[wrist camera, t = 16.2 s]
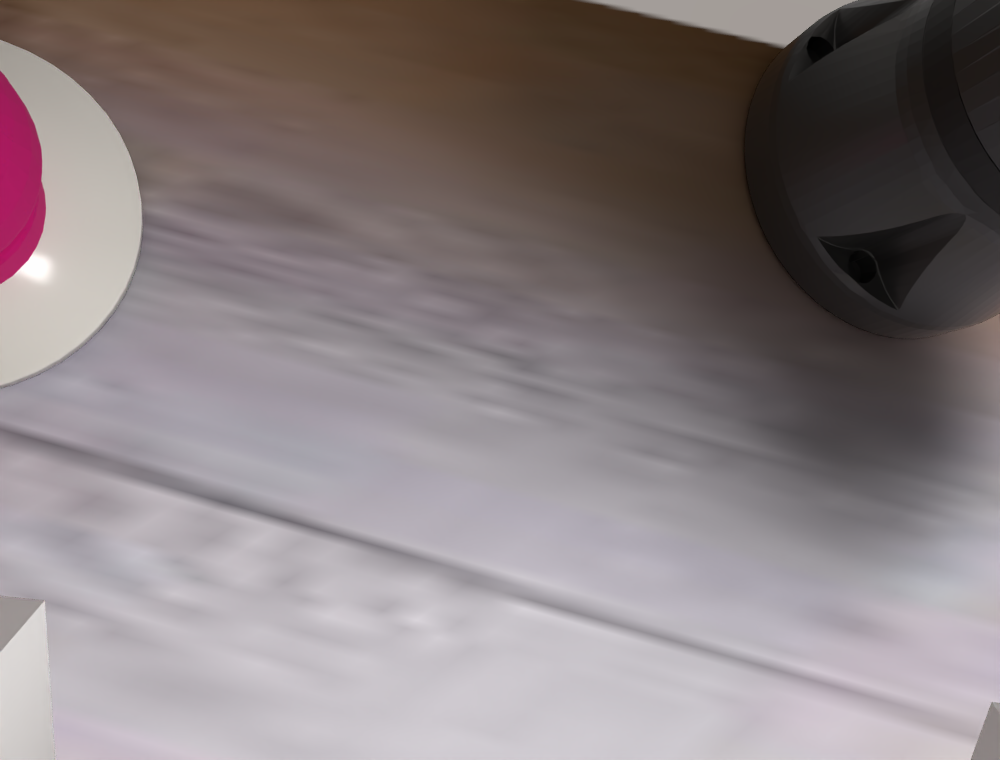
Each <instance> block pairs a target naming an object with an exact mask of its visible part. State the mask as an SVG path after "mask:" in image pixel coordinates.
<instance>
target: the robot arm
mask: <svg viewBox="0 0 1000 760" xmlns="http://www.w3.org/2000/svg"><path fill="white" fill-rule="evenodd" d="M745 164H746V173H747V180H748V185H749V190H750V195H751V198H752V202H753V205H754V208H755V211H756V214H757V217H758V220H759V222H760V224H761V227H762V229H763V231H764V233H765V235H766V237H767V239H768V241H769V243H770V245H771V247H772V249H773V250H774V252H775V254H776V255H777V257H778V258H779V260H780V261H781V263H782V264H783V266H784V267H785V268H786V270H787V271H788V272H789V274H790V275H791V276H792V277H793V279H794V280H795V281H796V282H797V283H798V284H799V285H800V286H801V288H802V289H803V290H804V291H805V292H806V293H807V294H808V295H810V296H811V297H812V298H813V299H814V300H815V301H816V302H817V303H819V304H820V305H821V306H823V307H824V308H825V309H826V310H828V311H829V312H831V313H832V314H834V315H835V316H837V317H838V318H840V319H842V320H844V321H845V322H847V323H849V324H851V325H853V326H856V327H858V328H860V329H863V330H865V331H868V332H871V333H875V334H878V335H882V336H887V337H893V338H905V339H914V338H925V337H931V336H935V335H939V334H943V333H947V332H951V331H954V330H958V329H962V328H966V327H970V326H973V325H976V324H979V323H981V322H983V321H986V320H988V319H990V318H992V317H994V316H996V315H998V314H1000V0H858V1H855V2H852V3H849V4H847V5H844V6H842V7H840V8H838V9H836V10H834V11H832V12H831V13H829V14H827V15H825V16H824V17H822V18H821V19H819V20H818V21H817V22H816V23H814V24H813V25H812V26H811V27H809V28H808V29H807V30H806V31H804V32H803V33H802V34H801V35H800V36H798V37H797V38H796V39H795V40H793V41H792V42H791V43H790V44H789V45H787V46H786V47H785V48H784V49H783V50H782V51H781V52H780V53H779V54H778V55H777V56H776V58H775V59H774V60H773V61H772V62H771V64H770V65H769V67H768V68H767V69H766V71H765V73H764V75H763V76H762V78H761V80H760V82H759V84H758V86H757V88H756V91H755V94H754V96H753V99H752V102H751V106H750V109H749V114H748V119H747V125H746V133H745ZM0 760H56V759H55V745H54V730H53V715H52V701H51V686H50V671H49V657H48V642H47V628H46V613H45V601H44V600H35V599H25V598H16V597H7V596H0ZM971 760H1000V703H995V702H992V703H991V705H990V708H989V711H988V714H987V716H986V719H985V722H984V725H983V727H982V730H981V733H980V736H979V738H978V741H977V744H976V747H975V750H974V752H973V755H972V758H971Z"/></svg>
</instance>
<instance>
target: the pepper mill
mask: <svg viewBox="0 0 1000 760" xmlns="http://www.w3.org/2000/svg"><path fill="white" fill-rule="evenodd" d="M41 179H42V150H41V145H40V141H39V138H38V134H37V131H36V127H35V124H34V122H33V120H32V118H31V116H30V114H29V112H28V110H27V108H26V106H25V104H24V103H23V101H22V100H21V98H20V97H19V95H18V94H17V92H16V91H15V89H14V88H13V87H12V85H11V84H10V82H9V81H8V79H7V78H6V77H5V75H4V74H3V73H2V72H1V71H0V284H2V283H3V282H5V281H6V280H7V279H9V278H10V277H12V276H13V275H14V274H15V273H16V272H17V271H18V270H19V269H20V268H21V267H22V266H23V265H24V264H25V263H26V262H27V261H28V260H29V258H30V257H31V255H32V254H33V252H34V250H35V249H36V247H37V245H38V243H39V240H40V238H41V235H42V233H43V229H44V222H45V216H46V200H45V192H44V188H43V184H42V181H41Z"/></svg>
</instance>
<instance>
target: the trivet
mask: <svg viewBox="0 0 1000 760" xmlns="http://www.w3.org/2000/svg"><path fill="white" fill-rule="evenodd" d="M0 71H1V72H2V73H3V74H4V75H5V77H6V78H7V79H8V81H9V82H10V84H11V85H12V87H13V88H14V89H15V91H16V92H17V94H18V95H19V97H20V98H21V100H22V101H23V103H24V104H25V106H26V108H27V110H28V112H29V114H30V116H31V118H32V120H33V122H34V124H35V127H36V131H37V134H38V138H39V141H40V145H41V150H42V179H41V181H42V184H43V188H44V192H45V200H46V216H45V222H44V229H43V233H42V235H41V238H40V240H39V243H38V245H37V247H36V249H35V250H34V252H33V254H32V255H31V257H30V258H29V260H28V261H27V262H26V263H25V264H24V265H23V266H22V267H21V268H20V269H19V270H18V271H17V272H16V273H15V274H14V275H13V276H12V277H10V278H9V279H7V280H6V281H5V282H3V283H2V284H0V388H4V387H7V386H11V385H15V384H17V383H20V382H22V381H25V380H27V379H29V378H32V377H34V376H37V375H39V374H41V373H43V372H45V371H47V370H48V369H50V368H52V367H54V366H56V365H57V364H59V363H61V362H63V361H64V360H65V359H67V358H68V357H69V356H71V355H72V354H74V353H75V352H76V351H78V350H79V349H80V348H82V347H83V346H84V345H85V344H86V343H87V342H88V341H89V340H90V339H91V338H92V337H93V336H95V335H96V334H97V333H98V332H99V331H100V330H101V328H102V327H103V326H104V325H105V323H106V322H107V321H108V320H109V318H110V317H111V316H112V315H113V314H114V312H115V311H116V309H117V307H118V306H119V304H120V302H121V301H122V299H123V297H124V296H125V294H126V292H127V290H128V287H129V285H130V283H131V280H132V278H133V276H134V273H135V270H136V266H137V263H138V259H139V255H140V251H141V243H142V235H143V210H142V202H141V197H140V191H139V185H138V180H137V176H136V172H135V169H134V166H133V163H132V160H131V157H130V154H129V152H128V150H127V148H126V146H125V144H124V142H123V140H122V138H121V136H120V134H119V132H118V130H117V129H116V127H115V126H114V124H113V123H112V121H111V120H110V118H109V117H108V115H107V114H106V113H105V111H104V110H103V109H102V108H101V107H100V106H99V105H98V103H97V102H96V101H95V100H94V99H93V98H92V96H91V95H90V94H89V93H87V92H86V91H85V90H84V89H83V88H82V87H81V86H80V85H79V84H78V83H76V82H75V81H74V80H73V79H72V78H71V77H69V76H68V75H66V74H65V73H64V72H62V71H61V70H59V69H58V68H56V67H55V66H54V65H52V64H51V63H49V62H47V61H45V60H43V59H42V58H40V57H38V56H36V55H34V54H33V53H31V52H29V51H27V50H24V49H22V48H19V47H17V46H14V45H12V44H10V43H7V42H5V41H2V40H0Z"/></svg>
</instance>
